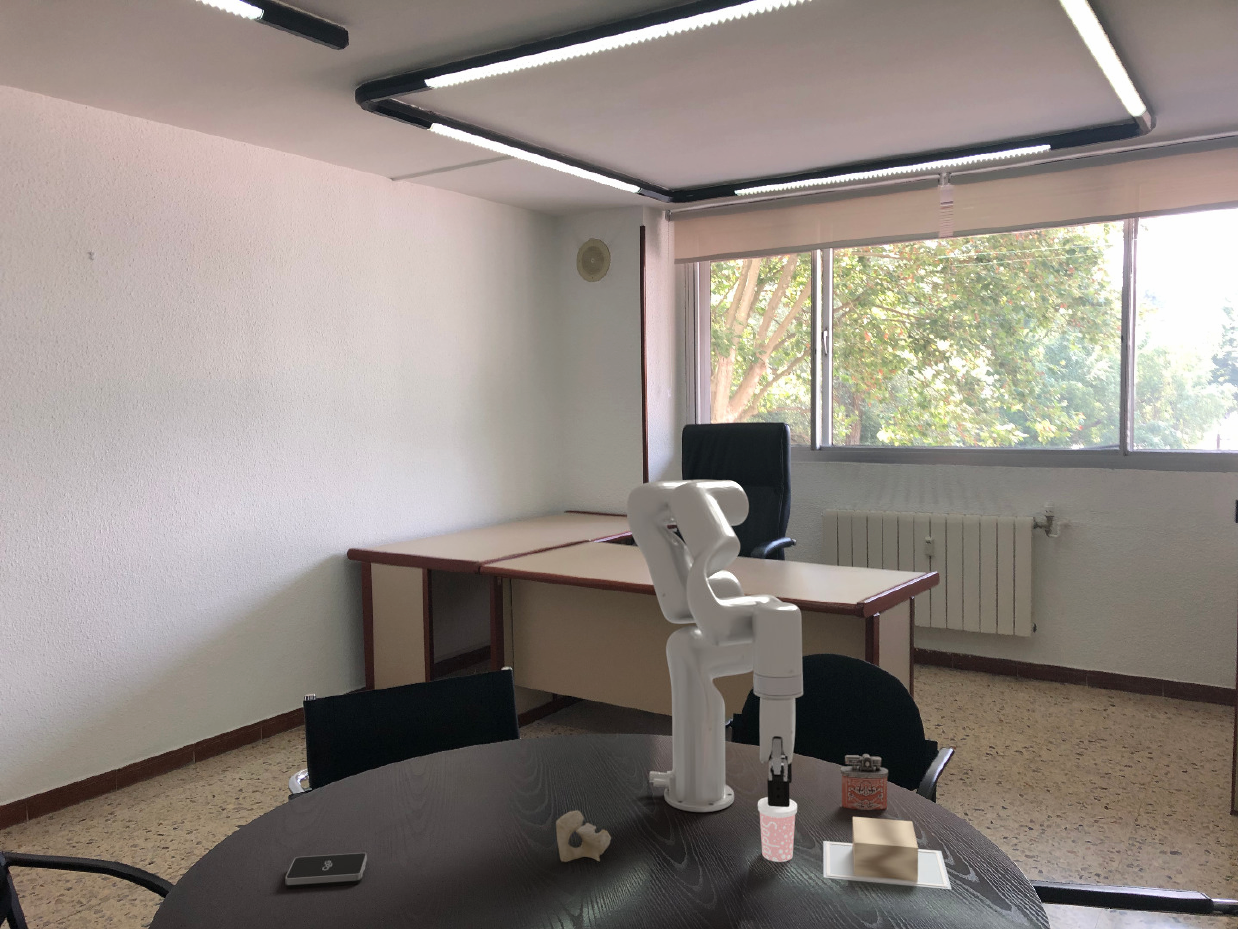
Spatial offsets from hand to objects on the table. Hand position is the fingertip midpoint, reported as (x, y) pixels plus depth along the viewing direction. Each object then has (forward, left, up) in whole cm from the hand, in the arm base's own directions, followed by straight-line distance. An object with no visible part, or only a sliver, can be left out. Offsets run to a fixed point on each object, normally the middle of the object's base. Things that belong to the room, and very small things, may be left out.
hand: (780, 793), depth 144 cm
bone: (-31, -3, -11) cm, 33 cm away
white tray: (+16, +1, -11) cm, 19 cm away
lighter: (+14, +22, -11) cm, 28 cm away
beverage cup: (0, +1, -11) cm, 11 cm away
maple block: (+16, +1, -10) cm, 18 cm away
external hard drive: (-67, -17, -12) cm, 71 cm away
